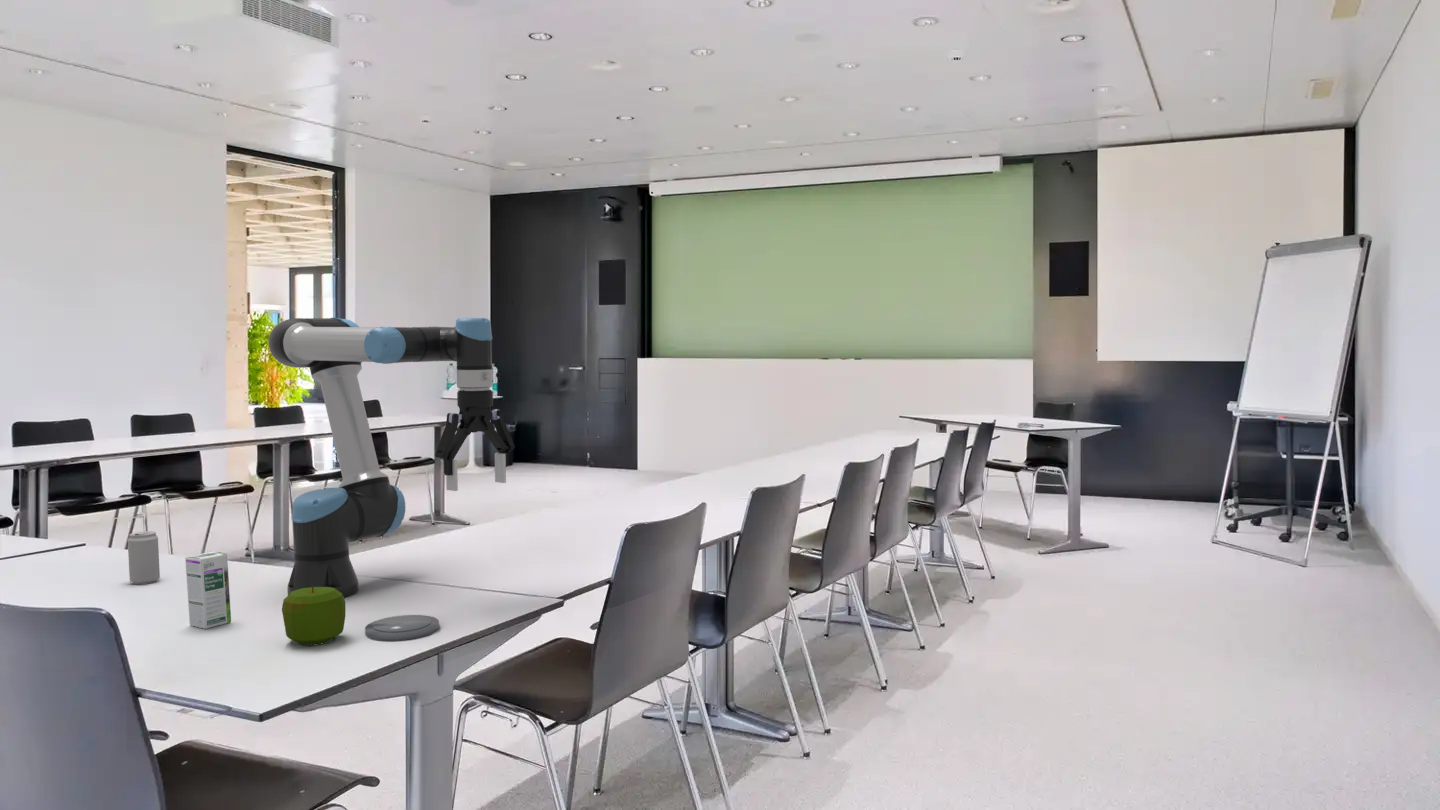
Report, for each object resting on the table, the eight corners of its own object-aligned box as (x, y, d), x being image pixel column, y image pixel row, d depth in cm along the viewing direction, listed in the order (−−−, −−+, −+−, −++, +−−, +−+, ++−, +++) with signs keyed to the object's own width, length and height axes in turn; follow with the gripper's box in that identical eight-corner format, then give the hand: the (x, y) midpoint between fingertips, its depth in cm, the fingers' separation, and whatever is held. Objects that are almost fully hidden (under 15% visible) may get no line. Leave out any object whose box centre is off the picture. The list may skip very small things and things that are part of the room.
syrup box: (205, 629, 207) (201, 558, 206) (188, 625, 210) (184, 555, 209) (231, 622, 212) (228, 553, 211) (214, 618, 215) (211, 550, 214)
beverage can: (123, 584, 247) (120, 534, 246) (147, 578, 253) (144, 529, 252) (142, 586, 245) (140, 536, 244) (166, 580, 251) (163, 531, 250)
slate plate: (351, 639, 199) (351, 632, 199) (386, 619, 212) (386, 612, 212) (420, 642, 196) (419, 634, 196) (450, 621, 210) (450, 614, 210)
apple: (357, 633, 203) (354, 579, 202) (324, 650, 192) (321, 592, 192) (307, 630, 205) (304, 577, 205) (271, 647, 195) (269, 590, 194)
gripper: (439, 392, 211) (442, 495, 213) (529, 386, 231) (530, 480, 233) (416, 391, 216) (419, 492, 217) (506, 385, 236) (508, 477, 237)
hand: (476, 486), depth 225 cm, fingers open, 13 cm apart
